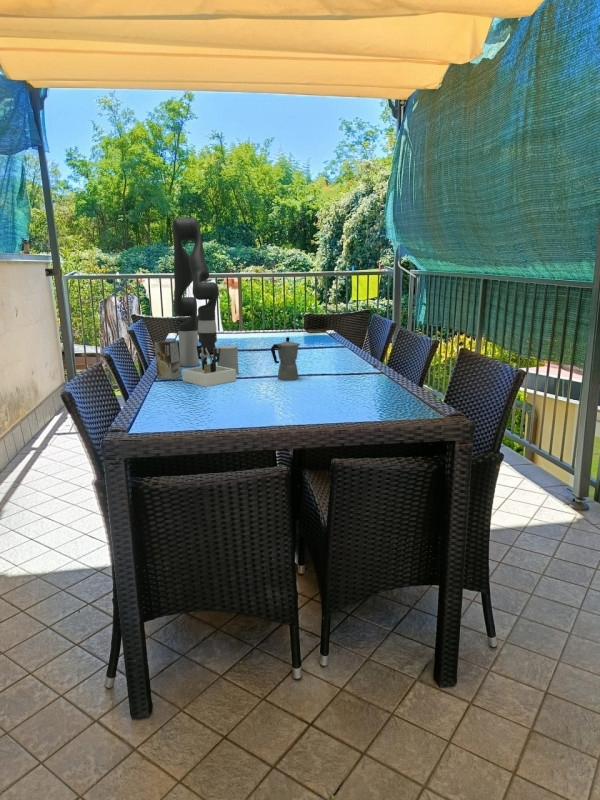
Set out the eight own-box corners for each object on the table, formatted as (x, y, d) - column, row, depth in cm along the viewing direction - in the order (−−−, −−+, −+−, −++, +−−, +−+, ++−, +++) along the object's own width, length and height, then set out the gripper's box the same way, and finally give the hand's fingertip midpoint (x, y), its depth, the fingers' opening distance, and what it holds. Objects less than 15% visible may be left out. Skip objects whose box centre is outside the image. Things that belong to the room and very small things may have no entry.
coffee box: (182, 377, 243) (180, 341, 239) (172, 379, 238) (170, 342, 234) (166, 375, 247) (163, 339, 243) (156, 378, 242) (153, 341, 238)
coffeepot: (293, 375, 247) (292, 335, 243) (306, 378, 240) (306, 337, 236) (265, 379, 237) (264, 337, 233) (278, 383, 230) (277, 340, 226)
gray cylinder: (231, 376, 245) (230, 348, 242) (213, 374, 249) (212, 347, 246) (242, 372, 253) (241, 346, 250) (225, 371, 257) (224, 344, 254)
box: (183, 381, 235) (182, 369, 234) (213, 375, 246) (213, 364, 245) (205, 386, 224) (204, 374, 223) (236, 380, 235) (235, 369, 233)
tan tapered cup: (202, 378, 234) (202, 364, 233) (210, 377, 237) (210, 363, 236) (208, 379, 232) (207, 365, 230) (216, 378, 234) (215, 364, 233)
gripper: (190, 330, 232) (192, 370, 236) (210, 333, 222) (211, 374, 226) (204, 329, 237) (206, 367, 241) (225, 331, 227) (226, 371, 231)
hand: (209, 370), depth 234 cm, fingers open, 5 cm apart
